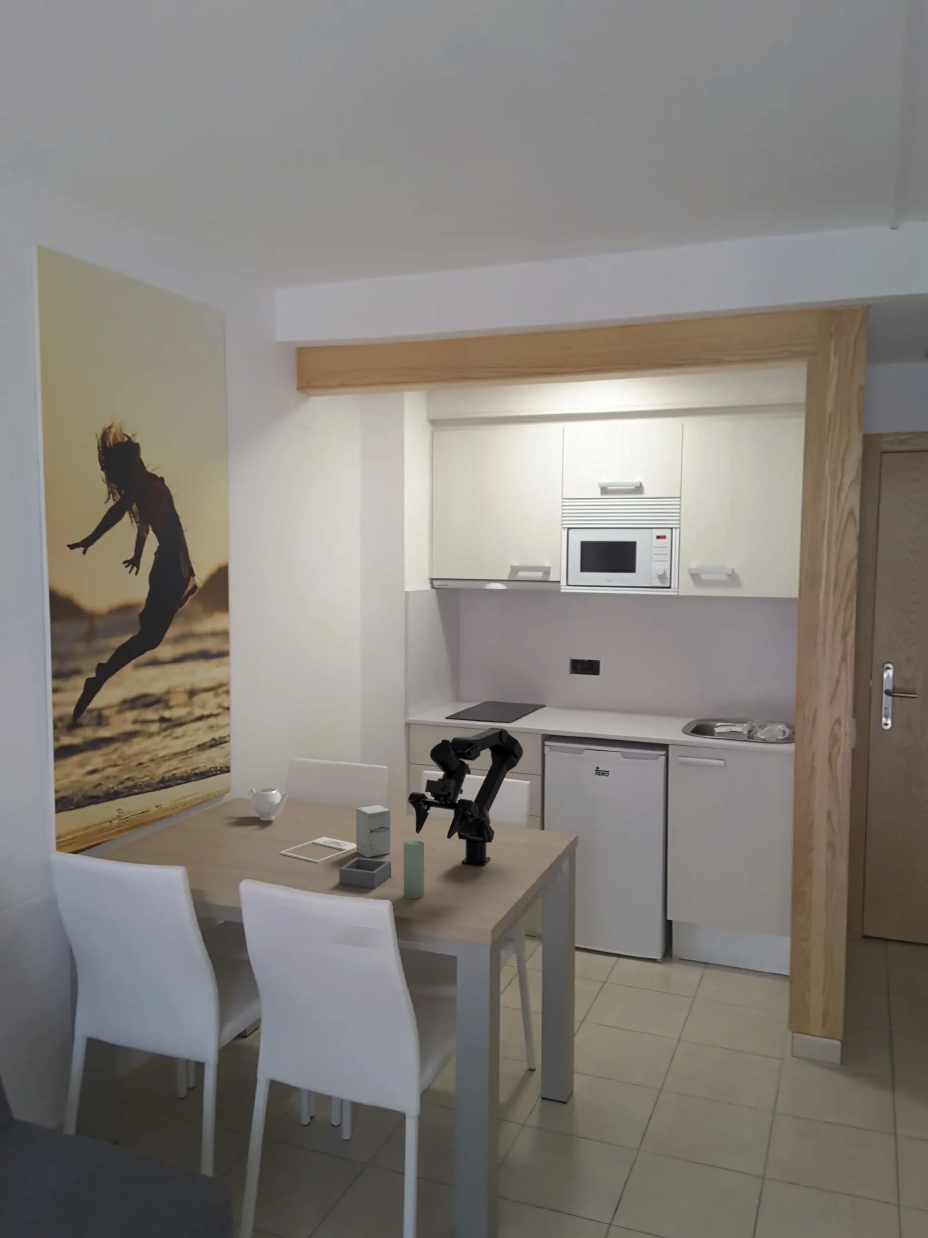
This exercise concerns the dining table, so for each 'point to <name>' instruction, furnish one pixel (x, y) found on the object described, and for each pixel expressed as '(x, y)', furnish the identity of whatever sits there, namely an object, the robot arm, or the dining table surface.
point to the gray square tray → (365, 872)
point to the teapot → (267, 802)
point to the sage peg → (413, 869)
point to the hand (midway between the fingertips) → (432, 835)
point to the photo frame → (324, 842)
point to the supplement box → (373, 830)
